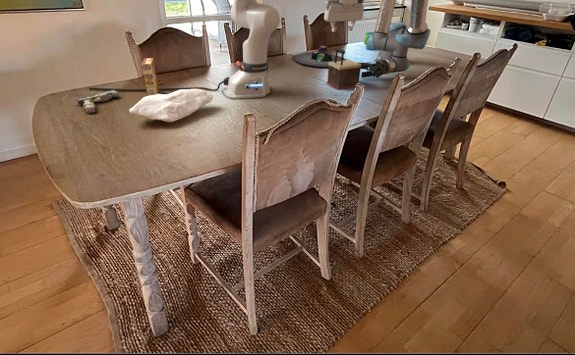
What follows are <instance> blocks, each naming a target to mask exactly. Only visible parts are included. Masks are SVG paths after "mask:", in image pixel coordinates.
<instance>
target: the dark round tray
mask: <svg viewBox="0 0 575 355" xmlns="http://www.w3.org/2000/svg"><path fill="white" fill-rule="evenodd" d="M327 51H328V46H325V45H320V46H319V48H318V50H317V51H314V50H313V51H312V52H304V53H298V54H295V55H293V56H292V58H291V59H292V60H293V61H294V62H296V63H298V64H301V65H306V66H312V67H317V68H318V67H319V68H321V67H322V68H329V65H328V62H335V54H331V53H329V52H327ZM341 57H342V56H340V55H337V61H341ZM344 60H347V58H345V57H343V61H344Z"/></svg>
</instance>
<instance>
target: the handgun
mask: <svg viewBox="0 0 575 355" xmlns="http://www.w3.org/2000/svg"><path fill="white" fill-rule="evenodd" d="M119 96H120V94H119V91H115V90H107V91H105V92H104V91H103V92H101V93H96V94H94V95H86V94H85V95H84V94H83V95H81V96H80V97H77V98H76V101H77V104H78V105H82V108H83V109H84V110H85V113H87V114H91V113H95V112H96V104H95V103H98V102H106V101H109V100H111V99H113V98H117V97H119Z"/></svg>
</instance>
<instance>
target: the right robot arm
mask: <svg viewBox="0 0 575 355" xmlns="http://www.w3.org/2000/svg"><path fill="white" fill-rule="evenodd" d="M396 3H397V0H381V1H380V6H379V10H378V14H377V18H376V23H375V28H374V34H371V35H370V36H369V38H368V42H367V45H368V47H369V48H370V49H369V50H375V51H379V52H378V54H377V56H376V59H375V63H371V62H356V61H355V62H356V63H359V64H361V70H366V71H361V74H360V79H365V78H370V77H373V78H374V77H375V78H379V77H381V76H383V75H388V74H393V73H401V72H404V71H407V70H408V69H409V67H410V59H409V58H408V57H407V55H408V52H409V49H415V50H423V49H425V47H426V45H427V44H428V43H427V42H428V40H429V38H430V36H431V35H430V34H431V28H429V25H428V23H427V22H426V21H427V13H428V5H429V4H428V3H429V0H411V1H410V13H409V23H407V24H406V23H405V22H392V20H393V17H394V16H393V15H394V11H395V7H396Z"/></svg>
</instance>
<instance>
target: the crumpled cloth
mask: <svg viewBox="0 0 575 355" xmlns="http://www.w3.org/2000/svg"><path fill="white" fill-rule="evenodd" d="M213 97H214V96H213V94H212V93H210V92H208V91H207V90H205V89H181V90H174V91H173V92H171V93H167V94H163V93H158V94H156V95H150V96H148V95H146V96H144V97H142V98H141V99H140V100H139V101H138V102H137V103H136V104H134V105H133V106H132V107H131V108H129V114H130V115H135V116H140V117H145V118H146V119H149V120H152V121H155V120H158V121H163V122H166V123H174V122H176V121H178V120H181V119H183V118H185V117H188V116H190V115H192V114H193V113H195V112H196V111H197V110H199V109H200V108H202V107H204V106H206V105H207V104H210V102H211V101H212V100H213V99H214V98H213Z"/></svg>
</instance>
